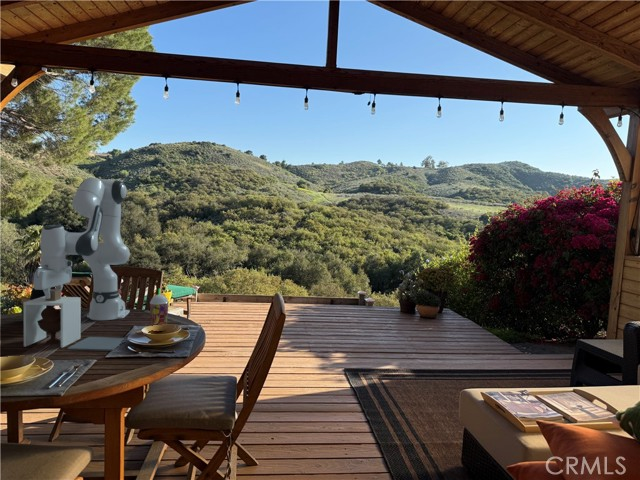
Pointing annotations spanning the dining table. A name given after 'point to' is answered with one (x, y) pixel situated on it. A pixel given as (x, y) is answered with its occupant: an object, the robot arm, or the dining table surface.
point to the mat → (97, 344)
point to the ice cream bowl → (51, 323)
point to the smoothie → (159, 309)
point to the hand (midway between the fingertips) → (53, 297)
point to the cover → (68, 318)
